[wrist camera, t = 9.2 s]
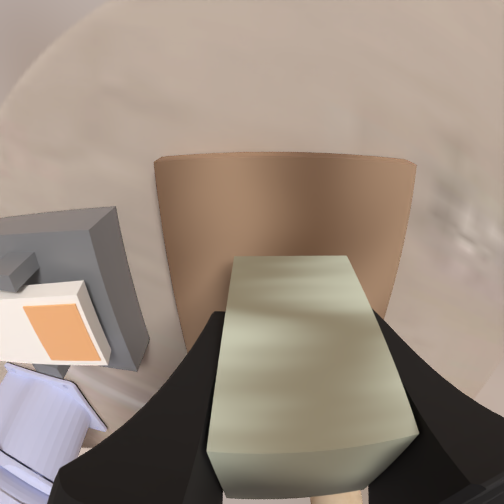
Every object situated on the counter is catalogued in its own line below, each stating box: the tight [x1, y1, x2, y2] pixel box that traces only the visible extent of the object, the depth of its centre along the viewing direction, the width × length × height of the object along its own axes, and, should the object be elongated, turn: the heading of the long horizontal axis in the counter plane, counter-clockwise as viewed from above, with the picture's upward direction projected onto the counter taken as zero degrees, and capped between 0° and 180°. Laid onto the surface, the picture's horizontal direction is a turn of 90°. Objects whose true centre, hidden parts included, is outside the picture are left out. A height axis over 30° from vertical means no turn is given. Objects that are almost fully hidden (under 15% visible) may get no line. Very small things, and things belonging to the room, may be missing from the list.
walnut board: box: [154, 152, 417, 353], centre depth 13 cm, size 10×10×1 cm
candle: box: [310, 490, 363, 504], centre depth 22 cm, size 6×6×10 cm
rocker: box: [0, 280, 111, 365], centre depth 10 cm, size 8×4×1 cm, turn 91°
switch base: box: [0, 206, 150, 379], centre depth 12 cm, size 9×8×4 cm
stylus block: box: [207, 256, 419, 499], centre depth 8 cm, size 4×4×7 cm
